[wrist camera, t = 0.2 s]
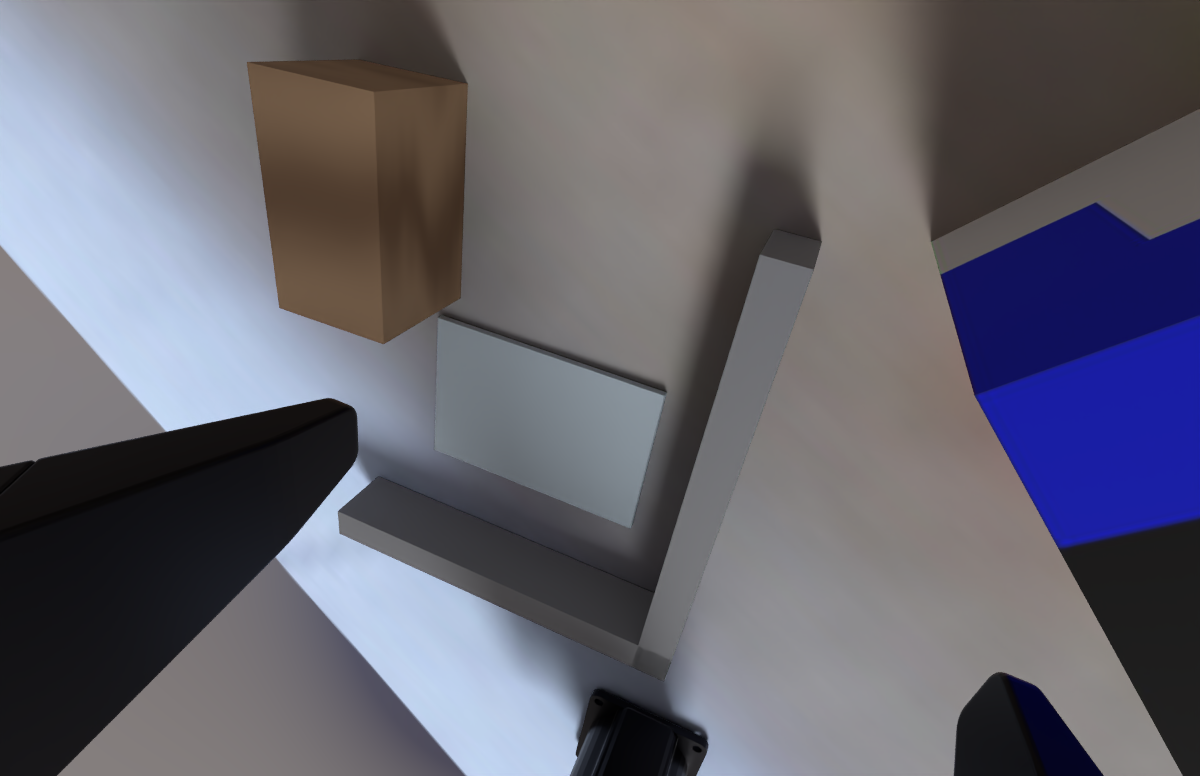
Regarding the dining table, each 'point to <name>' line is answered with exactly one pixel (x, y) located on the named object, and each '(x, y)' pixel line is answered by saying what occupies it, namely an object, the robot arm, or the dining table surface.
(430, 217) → the walnut block
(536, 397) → the mat
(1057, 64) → the dining table surface
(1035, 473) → the puzzle toy
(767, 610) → the dining table surface
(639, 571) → the dining table surface
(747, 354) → the grey angle bracket
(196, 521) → the robot arm
